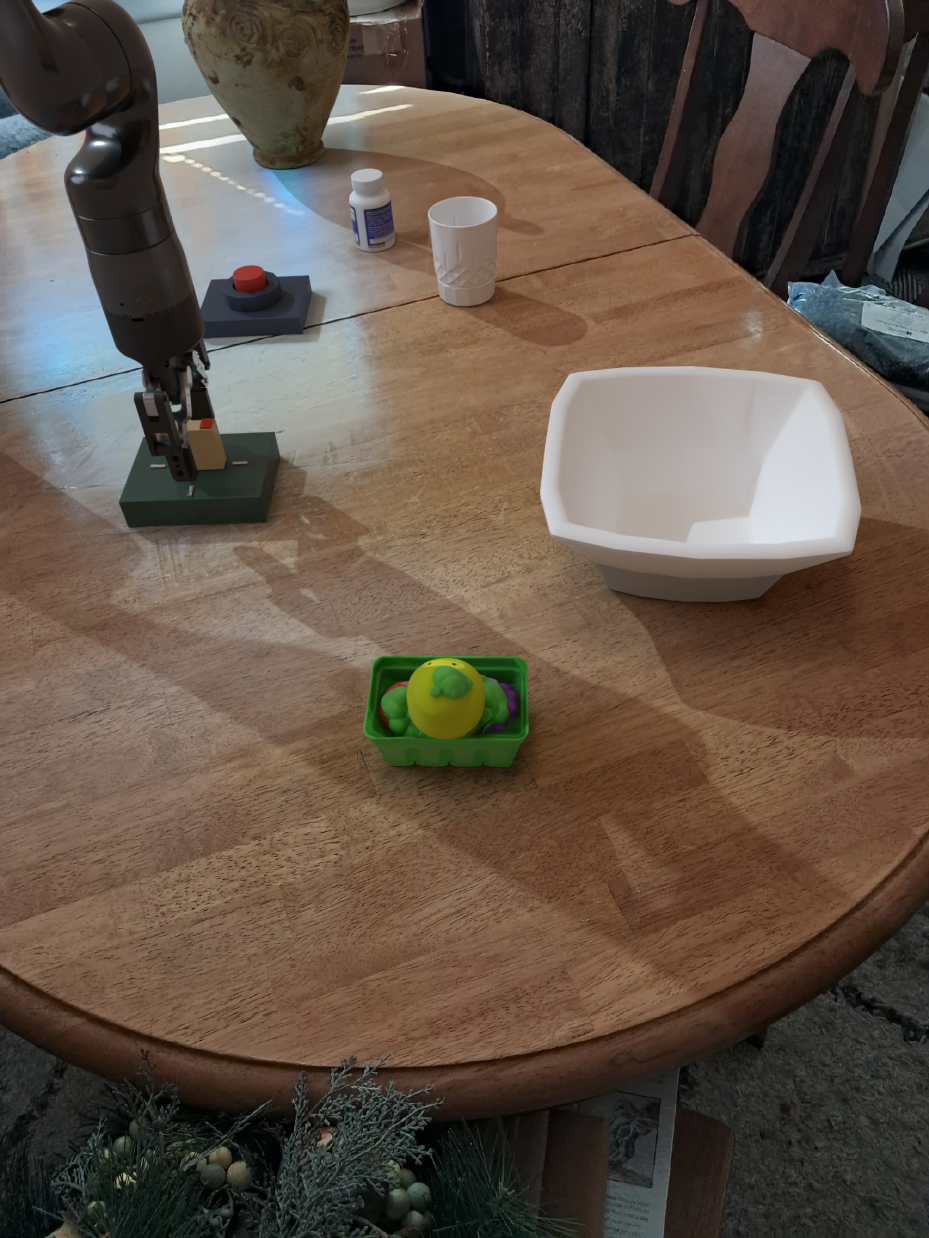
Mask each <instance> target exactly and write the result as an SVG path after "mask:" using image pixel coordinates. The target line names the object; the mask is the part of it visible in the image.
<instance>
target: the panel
mask: <svg viewBox="0 0 929 1238" xmlns="http://www.w3.org/2000/svg"><path fill="white" fill-rule="evenodd" d="M220 437H221V441H222V444H223V448H224V452H225V455H226V463H225V466H224V469H213V470H198V476H197V479H196V480H195V481H188V482H177V481H175V480H174V479H173V478H172V475H171V472H170V469H169V466H168V463H167V460H166V457H165V456H154V457H153V456H151V453H150V450H149V447H148V444H147V441H146V438H145V436H143V437H142V440H141V442H140V444H139V448H138V449H137V453H136V455H135V458H134V461H133V463H132V465H131V467H130V471H129V473H128V477H127V479H126V482H125V484H124V486H123V490H122V492H121V495H120V497H119V500H118V504H119V507H120V509H121V513H122V515H123V517H124V520H125V522H126V525H127V527H129V528H130V527H133V528H134V527H161V526H162V527H163V526H187V525H188V526H190V525H215V524H217V525H219V524H245V523H266V522H267V520H268V515H269V511H270V507H271V501H272V496H273V493H274V492H273V491H274V486H275V482H276V478H277V473H278V469H279V464H280V459H281V454H280V448H279V444H278V439H277V435H276V431H259V432H257V431H256V432H255V431H254V432H231V433H220Z"/></svg>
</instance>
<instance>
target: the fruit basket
mask: <svg viewBox="0 0 929 1238" xmlns="http://www.w3.org/2000/svg"><path fill="white" fill-rule="evenodd" d="M370 669H371V670H370V676H369V684H368V693H367V699H366V700H367V701H366V707H365V714H364V720H363V727H362V731H363V734H364V736H365V737H366V738H367V739H368V740H369V741H370V742H371V743H373V744H374V746H375V747H376V749H377V750H378V751H379V753H380V755H382V757H383V758H384V760H385V761H386V763H387V764H388V765H389V766H390V767H409V766H413V765H417V766H421V767H445V766H449V765H450V766H454V767H461V768H462V767H463V768H464V767H469V768H472V767H473V768H476V767H481V766H483V765H484V766H486V767H490V768H508V767H511V765H512V763H514V759H515V757H516V755H517V753H518V752H519V749H520V747H521V744H522V743H524V741H525V740H526V738H527V736H528V734H529V730H530V725H529V723H530V722H529V665H528V661H526V659H524V658H523V657H520V656H516V655H498V656H497V655H483V656H482V655H481V656H479V655H477V656H476V655H469V656H468V655H465V656H464V655H453V656H452V655H451V656H450V655H381V656H378V657H376V658H375V659H374V660H373V662H372V663H371V667H370Z"/></svg>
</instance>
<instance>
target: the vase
mask: <svg viewBox="0 0 929 1238" xmlns="http://www.w3.org/2000/svg"><path fill="white" fill-rule="evenodd" d="M180 20H181V28H182V29H181V30H182V33H183V36H184V38H183V41H184V44H185V45H186V46H187V48H188V51H189V54H190V55H191V57H192V59H193V61H194V63H195V65H196V66H197V68H198V69H199V72H200V74H201V76H202V79H203V81H204V82H205V85H206V86H207V88H208V91H210V93H211V95H212V96H213V97H214V99H215V100H216V102H217V103H218V105H219V106H220V107H221V109H222V110H223V111H224V113H225V114H226V115H227V117H228V118H229V119H230V120H231V121H232V123H233V124H234V125H235V126H236V127H237V129H238V130H239V131H240V133H241V134H242V135H243V136H244V138H245V139H246V140H247V141H248V143H249V144H250V145H251V146H252V148H253V149H252V157H253V159H254V161H255V163H257V164H258V165H259V166H262V167H264V168H267V169H273V170H274V169H276V170H287V169H296V168H301V167H304V166H307V165H310V164H312V163H314V162H316V161H318V160H320V159H321V158H322V156H323V155H324V153H325V145H324V142H323V139H322V138H323V135H324V133H325V130H326V127H327V125H328V123H329V121H330V120H329V119H330V116H331V114H332V111H333V109H334V106H335V104H336V101H337V98H338V96H339V93H340V90H341V87H342V82H343V78H344V75H345V70H346V67H347V66H346V65H347V61H348V55H349V49H350V38H351V16H350V10H349V3H348V0H184V1H183V5H182V9H181V15H180Z"/></svg>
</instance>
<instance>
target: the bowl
mask: <svg viewBox="0 0 929 1238" xmlns="http://www.w3.org/2000/svg"><path fill="white" fill-rule="evenodd" d="M548 419H549V420H548V424H547V425H548V426H547V433H546V439H545V446H544V454H543V463H542V472H541V481H540V489H539V497H540V501H541V505H542V510H543V513H544V517H545V520H546V524H547V529H548V531H549V532H548V533H549V536H550V537H551V539H553V540H554V541H556V542H558V543H560V544H561V545H563V546H565V547H566V548H568V549H570V550H571V551H574V552H575V553H577V554H579V555H580V556H582V557H583V558H586V559H587V560H589V561H590V562H592V563H594V564H595V566H596V568H597V570H598V571H599V574H600V575H601V577H602V579H603V581H604V583H605V584H606V586H607V588H608V589H610V590H613V591H616V592H621V593H624V594H629V595H633V596H637V597H642V598H649V599H658V600H665V601H666V600H667V601H675V602H683V603H727V602H728V603H729V602H736V601H746V600H754V599H758V598H761V596H762V595H764V594H765V593H766V592H767V591H768V590H769V589H770V588H771V587H772V586H774V584H776V583H777V582H778V581H779V580H780V579H781V578H782V577H784V575H788V574H790V573H794V572H798V571H801V570H804V569H807V568H810V567H814V566H817V565H820V564H823V563H827V562H830V561H833V560H837V559H840V558H843V557H847V556H850V555H852V553H853V550H854V548H855V544H856V539H857V534H858V530H859V525H860V519H861V514H862V509H863V508H862V503H861V497H860V491H859V488H858V482H857V476H856V471H855V467H854V461H853V456H852V451H851V447H850V443H849V439H848V434H847V431H846V427H845V422H844V418H843V414H842V413H841V411H840V409H839V408H838V406H837V405H836V403H835V402H834V400H833V399H832V397H831V395H830V394H829V393H828V391H827V390H826V388H825V386H824V385H823V384H822V383H821V382H820V381H818V380H816V379H815V380H814V379H808V378H803V377H796V376H792V375H791V376H790V375H785V374H778V373H773V372H768V371H758V370H746V369H745V370H744V369H732V368H720V367H708V366H707V367H706V366H697V365H696V366H694V365H687V366H685V365H684V366H683V365H682V366H681V365H680V366H625V367H615V368H606V369H596V370H586V371H577V372H572V373H570V374H568V376H567V377H566V379H565V380H564V382H563V384H562V385H561V387H560V389H559V391H558V393H557V394H556V396H555V397H554V399H553V401H552V402H551V407H550V413H549V418H548Z"/></svg>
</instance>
